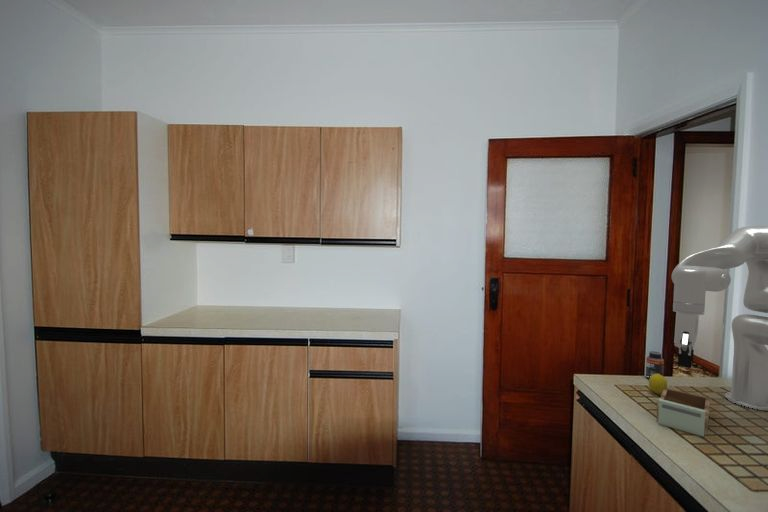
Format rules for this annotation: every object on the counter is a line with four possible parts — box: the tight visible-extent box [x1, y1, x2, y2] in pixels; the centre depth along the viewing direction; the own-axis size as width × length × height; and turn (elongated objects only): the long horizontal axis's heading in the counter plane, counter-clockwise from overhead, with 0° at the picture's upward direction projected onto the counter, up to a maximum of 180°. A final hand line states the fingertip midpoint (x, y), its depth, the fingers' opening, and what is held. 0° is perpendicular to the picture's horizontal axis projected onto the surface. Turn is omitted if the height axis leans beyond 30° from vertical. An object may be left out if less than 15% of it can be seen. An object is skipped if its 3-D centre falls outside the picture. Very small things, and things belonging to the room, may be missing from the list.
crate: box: [655, 387, 711, 437], centre depth 118 cm, size 18×12×6 cm, turn 136°
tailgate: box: [657, 398, 705, 437], centre depth 110 cm, size 1×11×8 cm, turn 46°
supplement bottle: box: [645, 350, 665, 380], centre depth 150 cm, size 6×6×11 cm
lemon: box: [648, 373, 668, 395], centre depth 136 cm, size 6×6×8 cm
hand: (685, 363), depth 114 cm, fingers open, 6 cm apart
